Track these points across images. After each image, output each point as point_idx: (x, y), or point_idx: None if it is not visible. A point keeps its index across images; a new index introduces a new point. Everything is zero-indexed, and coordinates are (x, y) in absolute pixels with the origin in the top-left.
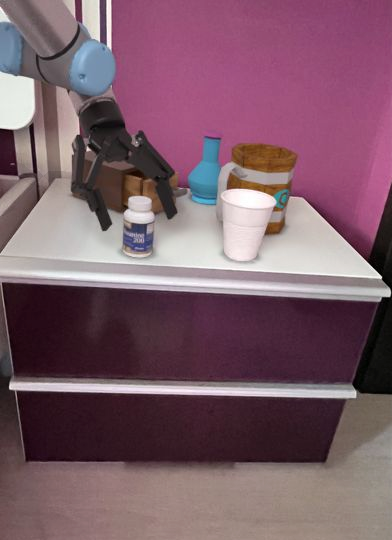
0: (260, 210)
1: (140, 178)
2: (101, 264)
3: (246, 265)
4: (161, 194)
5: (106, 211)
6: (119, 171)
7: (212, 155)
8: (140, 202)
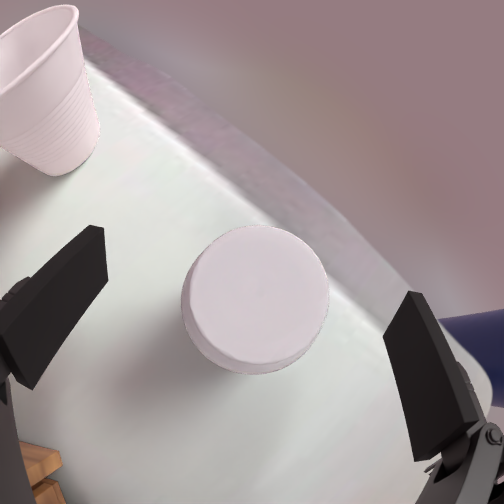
0: (63, 12)
1: None
2: (377, 311)
3: (106, 110)
4: (50, 330)
5: (431, 326)
6: None
7: None
8: (293, 255)
